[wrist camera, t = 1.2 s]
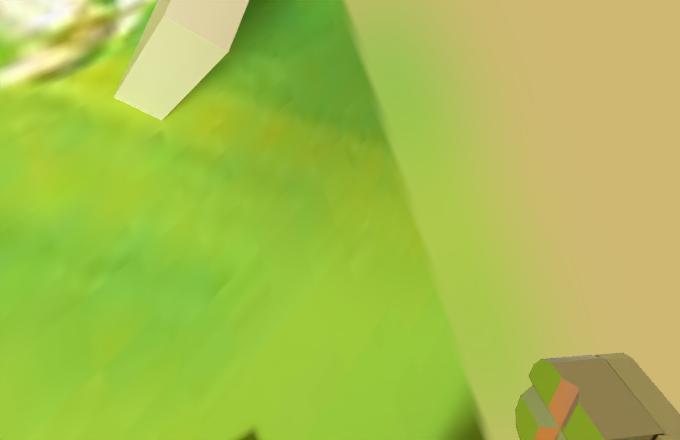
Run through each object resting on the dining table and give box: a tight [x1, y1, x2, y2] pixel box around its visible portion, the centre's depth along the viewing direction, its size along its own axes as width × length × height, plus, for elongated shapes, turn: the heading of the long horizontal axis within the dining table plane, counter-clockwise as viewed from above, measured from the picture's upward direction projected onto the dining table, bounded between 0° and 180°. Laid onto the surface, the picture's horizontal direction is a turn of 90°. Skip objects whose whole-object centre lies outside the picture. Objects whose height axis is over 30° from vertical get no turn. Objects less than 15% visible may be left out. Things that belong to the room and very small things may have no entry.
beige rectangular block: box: [114, 0, 249, 120], centre depth 32 cm, size 3×7×12 cm, turn 161°
